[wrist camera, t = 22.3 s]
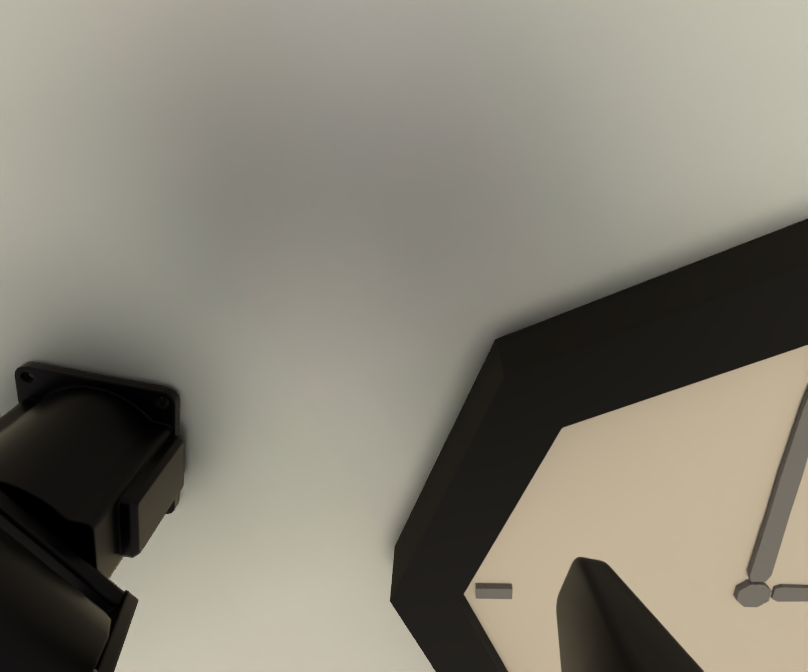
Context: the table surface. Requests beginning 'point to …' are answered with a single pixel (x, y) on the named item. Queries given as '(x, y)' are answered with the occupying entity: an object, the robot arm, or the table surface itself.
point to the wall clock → (630, 473)
